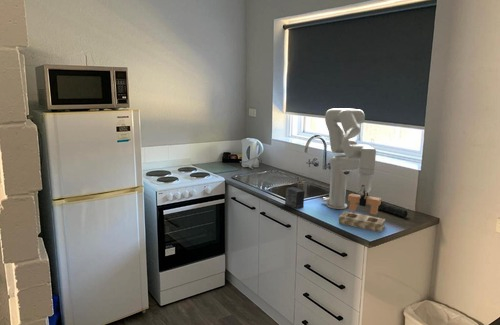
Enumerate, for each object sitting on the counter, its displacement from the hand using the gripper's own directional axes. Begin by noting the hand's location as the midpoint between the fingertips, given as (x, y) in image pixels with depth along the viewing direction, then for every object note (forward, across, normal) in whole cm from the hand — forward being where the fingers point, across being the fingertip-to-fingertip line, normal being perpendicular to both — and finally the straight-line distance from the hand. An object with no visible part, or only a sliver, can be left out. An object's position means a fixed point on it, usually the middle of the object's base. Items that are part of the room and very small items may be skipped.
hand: (363, 204), depth 203 cm
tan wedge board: (+4, 0, 0) cm, 4 cm away
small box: (+11, -10, -43) cm, 46 cm away
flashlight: (+12, -30, +8) cm, 34 cm away
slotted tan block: (+12, 0, 0) cm, 12 cm away
